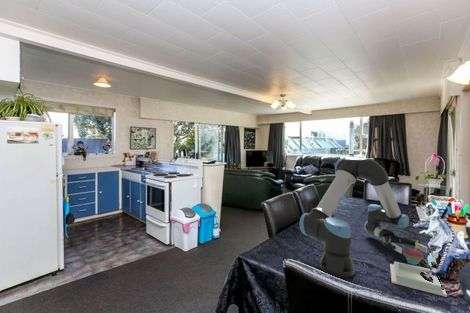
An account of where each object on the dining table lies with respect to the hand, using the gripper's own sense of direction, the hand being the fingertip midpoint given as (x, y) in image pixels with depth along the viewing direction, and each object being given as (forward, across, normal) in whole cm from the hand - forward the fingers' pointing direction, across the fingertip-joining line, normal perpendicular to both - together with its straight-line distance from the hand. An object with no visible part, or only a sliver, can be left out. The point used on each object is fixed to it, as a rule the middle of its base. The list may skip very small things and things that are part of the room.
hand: (414, 250), depth 118 cm
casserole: (-64, +19, -7) cm, 67 cm away
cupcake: (0, +1, -7) cm, 7 cm away
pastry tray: (+14, +12, -6) cm, 20 cm away
